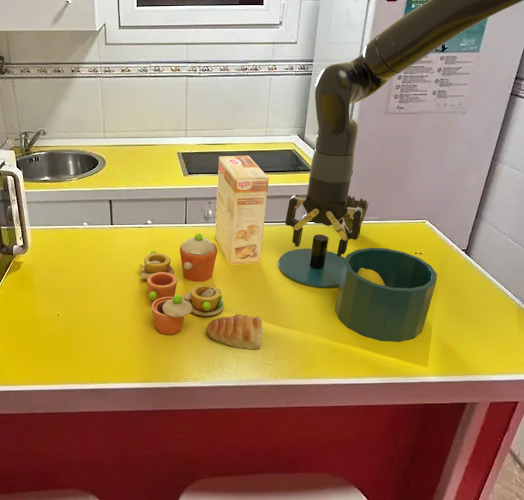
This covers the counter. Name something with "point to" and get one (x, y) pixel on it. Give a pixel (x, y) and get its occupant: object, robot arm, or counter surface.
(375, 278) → the lemon
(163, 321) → the toy tea set
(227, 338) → the pastry
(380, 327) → the pot
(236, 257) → the coffeecake box
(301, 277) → the lid
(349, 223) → the cup
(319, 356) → the counter surface
